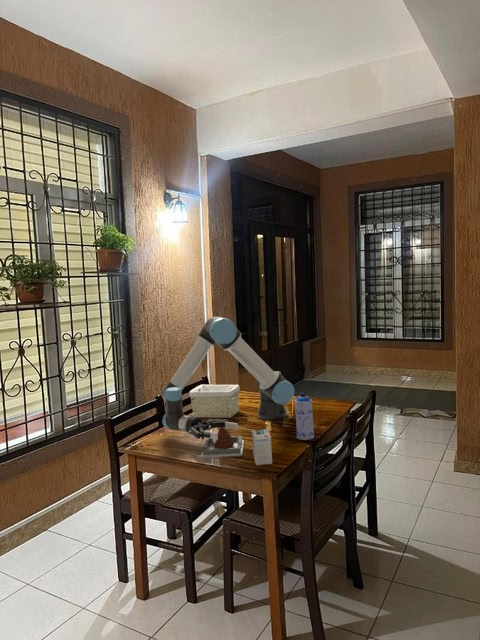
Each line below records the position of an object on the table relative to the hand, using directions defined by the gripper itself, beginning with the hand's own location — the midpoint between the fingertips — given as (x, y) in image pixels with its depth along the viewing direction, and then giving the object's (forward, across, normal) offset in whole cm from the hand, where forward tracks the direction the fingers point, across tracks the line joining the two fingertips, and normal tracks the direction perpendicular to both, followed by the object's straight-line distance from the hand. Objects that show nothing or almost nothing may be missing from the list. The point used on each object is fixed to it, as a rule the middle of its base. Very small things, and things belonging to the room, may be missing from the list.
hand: (227, 431), depth 206 cm
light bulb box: (+18, +1, -9) cm, 20 cm away
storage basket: (-41, -40, -9) cm, 57 cm away
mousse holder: (-3, 0, -8) cm, 9 cm away
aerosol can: (+20, -30, -9) cm, 37 cm away
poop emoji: (-3, 0, -8) cm, 8 cm away
